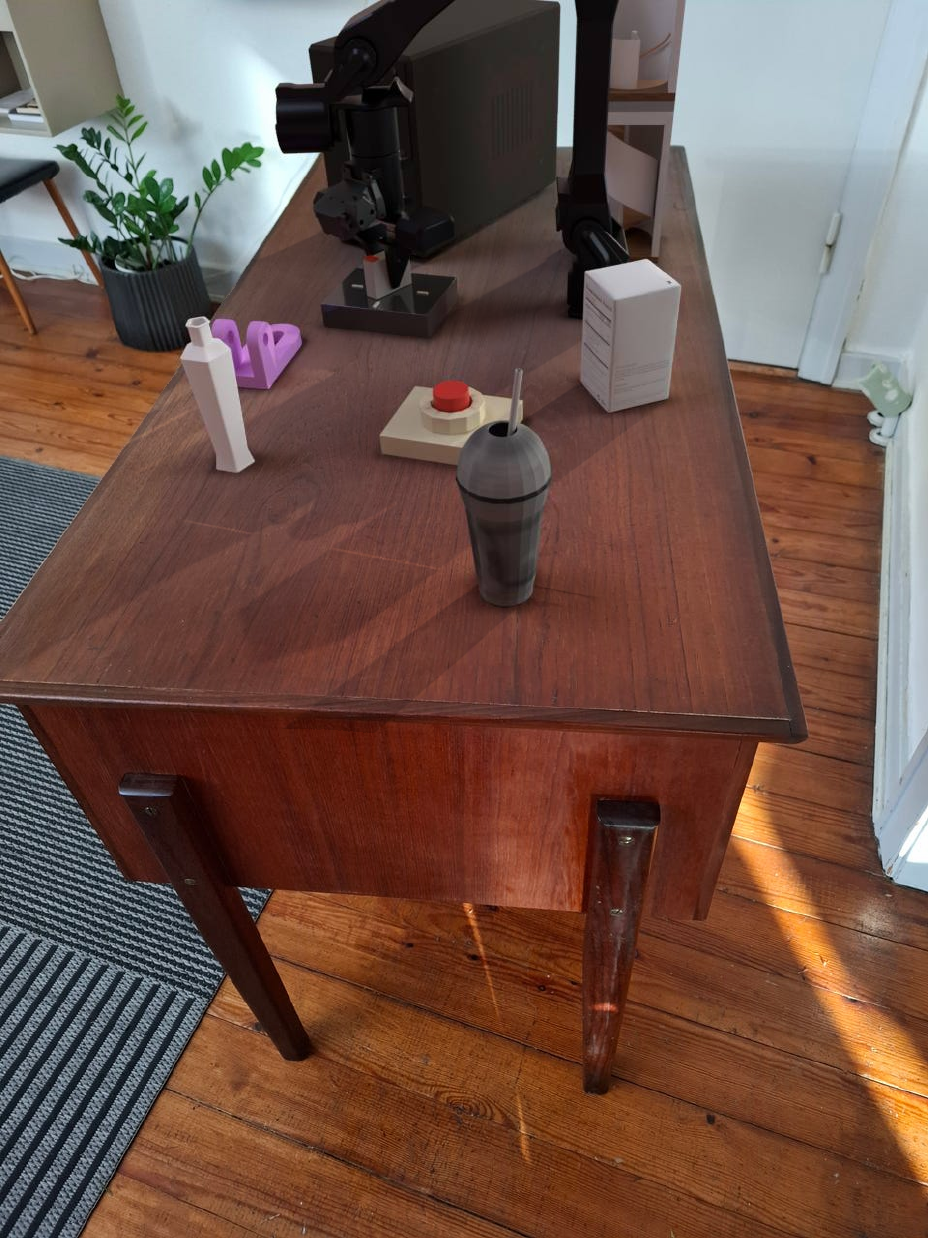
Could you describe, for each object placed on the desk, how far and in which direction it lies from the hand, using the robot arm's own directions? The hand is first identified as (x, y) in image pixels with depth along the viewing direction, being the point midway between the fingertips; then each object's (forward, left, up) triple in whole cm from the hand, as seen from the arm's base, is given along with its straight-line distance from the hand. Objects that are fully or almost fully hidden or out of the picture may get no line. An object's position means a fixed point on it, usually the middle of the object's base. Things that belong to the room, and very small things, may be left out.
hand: (389, 285), depth 111 cm
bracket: (+10, +15, -4) cm, 18 cm away
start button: (-17, +25, 0) cm, 30 cm away
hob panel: (0, 0, -4) cm, 4 cm away
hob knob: (0, 0, 0) cm, 0 cm away
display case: (-24, -24, -4) cm, 34 cm away
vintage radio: (+5, -35, -4) cm, 36 cm away
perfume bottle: (+3, +35, -4) cm, 35 cm away
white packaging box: (-32, +12, -4) cm, 34 cm away
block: (-17, +25, -4) cm, 30 cm away
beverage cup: (-29, +46, -4) cm, 55 cm away
